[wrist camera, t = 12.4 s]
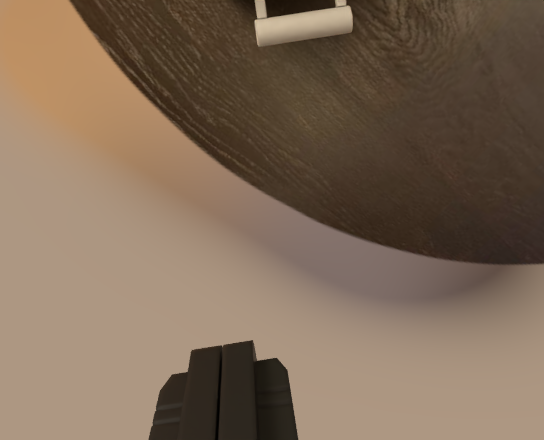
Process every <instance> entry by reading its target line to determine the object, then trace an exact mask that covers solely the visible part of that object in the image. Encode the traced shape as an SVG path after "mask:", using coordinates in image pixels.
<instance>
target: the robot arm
mask: <svg viewBox="0 0 544 440" xmlns="http://www.w3.org/2000/svg"><path fill="white" fill-rule="evenodd" d="M149 440H298V436H297V429H296V423H295V416H294V410H293V403H292V397H291V390H290V384H289V378H288V371H287V369H286V368H285V367H284V366H283V365H282V363H281V362H280V361H279V360H278V359H277V358H273V359H267V360H260V361H257V359H256V353H255V348H254V343H253V340H251V341H245V342H239V343H233V344H226V345H224V346H223V347H222V346H214V347H208V348H202V349H195V350H192V351H191V356H190V362H189V368H188V372H186V373H179V374H173V375H171V377H170V378H169V380H168V381H167V382H166V384H165V385H164V386H163V388H162V389H161V390H160V393H159V397H158V401H157V406H156V411H155V414H154V419H153V426H152V427H151V432H150V436H149Z"/></svg>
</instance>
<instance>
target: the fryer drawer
mask: <svg viewBox="0 0 544 440" xmlns="http://www.w3.org/2000/svg"><path fill="white" fill-rule="evenodd" d="M335 5H336V8H330V9H323V10H317V11H310V12H303V13H297V14H290V15H284V16H277V17H270V18H267V12H266V5H265V0H255V6H256V13H257V20H255V30H256V37H257V43H258V46H259V47H261V46H268V45H274V44H281V43H287V42H294V41H300V40H307V39H313V38H320V37H327V36H333V35H340V34H346V33H351V32H352V28H353V17H352V11H351V8H350V6H346V0H335Z"/></svg>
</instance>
